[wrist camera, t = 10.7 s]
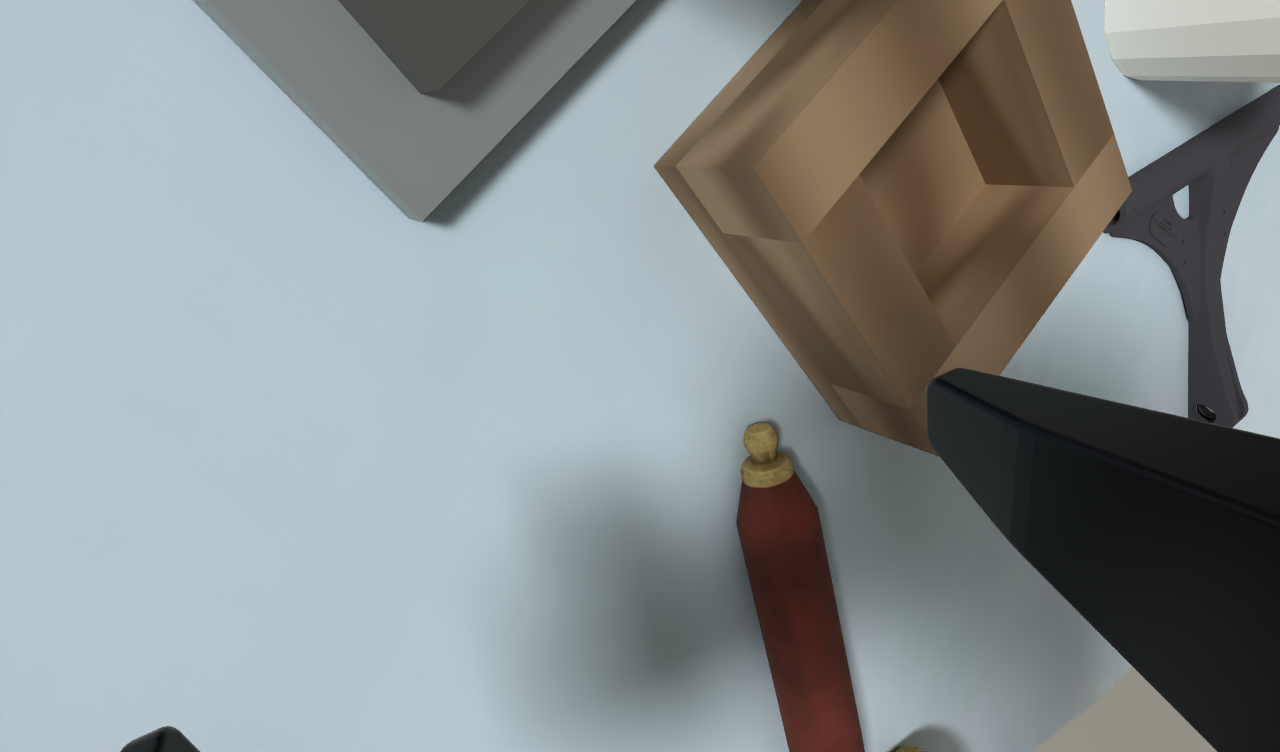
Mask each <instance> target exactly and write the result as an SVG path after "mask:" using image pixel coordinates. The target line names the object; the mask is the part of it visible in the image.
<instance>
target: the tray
mask: <svg viewBox="0 0 1280 752" xmlns="http://www.w3.org/2000/svg"><path fill="white" fill-rule="evenodd" d="M193 1H194V2H195V3H196V4H197V5H198V6H199V7H200V8H201V9H202V10H203V11H204V12H205V13H206V14H207V15H208V16H209V17H210V18H211V19H212V20H213V21H214V22H215V23H216V24H217V25H218V26H219V27H220V28H221V29H222V30H223V31H224V32H225V33H226V34H227V35H228V36H229V37H230V38H231V39H232V40H233V41H234V42H235V43H236V44H237V45H238V46H239V47H240V48H241V49H242V50H243V51H244V52H245V53H246V54H247V55H248V56H249V57H250V58H251V59H252V61H253V62H254V63H255V64H256V65H257V66H258V67H259V68H260V69H261V70H262V71H263V72H264V73H265V74H266V75H267V76H268V77H269V78H270V79H271V80H272V81H273V82H274V83H275V84H276V85H277V86H278V87H279V88H280V89H281V90H282V91H283V92H284V93H285V94H286V95H287V96H288V97H289V98H290V99H291V100H292V101H293V102H294V103H295V104H296V105H297V106H298V107H299V108H300V109H301V110H302V111H303V112H304V113H305V114H306V115H307V116H308V117H309V118H310V119H311V120H312V121H313V122H314V123H315V124H316V125H317V126H318V127H319V128H320V129H321V130H322V131H323V132H324V133H325V134H326V135H327V136H328V137H329V138H330V139H331V140H332V141H333V142H334V143H335V144H336V145H337V146H338V147H339V148H340V149H341V150H342V151H343V152H344V153H345V155H346V156H347V157H348V158H349V159H350V160H351V161H352V162H353V163H354V164H355V165H356V166H357V167H358V168H359V169H360V170H361V171H362V172H363V173H364V174H365V175H366V176H367V177H368V178H369V179H370V180H371V181H372V182H373V183H374V184H375V185H376V186H377V187H378V188H379V189H380V190H381V191H382V192H383V193H384V194H385V195H386V196H387V197H388V198H389V199H390V200H391V201H392V202H393V203H394V204H395V205H396V206H397V207H398V208H399V209H400V210H401V211H402V212H403V213H404V214H405V215H406V216H407V217H408V218H410V219H414V220H419V221H423V220H424V219H425V218H426V217H427V216H428V215H429V214H430V213H431V212H432V211H433V210H434V209H435V208H436V207H437V206H438V205H439V204H440V203H441V202H442V201H443V200H444V199H445V198H446V197H447V195H448V194H449V193H450V192H451V191H452V190H453V189H454V188H455V187H456V186H457V185H458V184H459V183H460V182H461V181H462V180H463V179H464V178H465V177H466V176H467V175H468V174H469V173H470V172H471V171H472V170H473V169H474V168H475V166H476V165H477V164H478V163H479V162H480V161H481V160H482V159H483V158H484V157H485V156H486V155H487V154H488V153H489V152H490V151H491V150H492V149H493V148H494V147H495V146H496V145H497V144H498V143H499V142H500V141H501V140H502V139H503V138H504V136H505V135H506V134H507V133H508V132H509V131H510V130H511V129H512V128H513V127H514V126H515V125H516V124H517V123H518V122H519V121H520V120H521V119H522V118H523V117H524V116H525V115H526V114H527V113H528V112H529V111H530V110H531V109H532V107H533V106H534V105H535V104H536V103H537V102H538V101H539V100H540V99H541V98H542V97H543V96H544V95H545V94H546V93H547V92H548V91H549V90H550V89H551V88H552V87H553V86H554V85H555V84H556V83H557V82H558V81H559V80H560V78H561V77H562V76H563V75H564V74H565V73H566V72H567V71H568V70H569V69H570V68H571V67H572V66H573V65H574V64H575V63H576V62H577V61H578V60H579V59H580V58H581V57H582V56H583V55H584V54H585V53H586V52H587V51H588V49H589V48H590V47H591V46H592V45H593V44H594V43H595V42H596V41H597V40H598V39H599V38H600V37H601V36H602V35H603V34H604V33H605V32H606V31H607V30H608V29H609V28H610V27H611V26H612V25H613V24H614V23H615V22H616V21H617V19H618V18H619V17H620V16H621V15H622V14H623V13H624V12H625V11H626V10H627V9H628V8H629V7H630V6H631V5H632V4H633V3H634V2H635V1H636V0H193Z"/></svg>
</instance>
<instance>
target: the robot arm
mask: <svg viewBox="0 0 1280 752" xmlns="http://www.w3.org/2000/svg"><path fill="white" fill-rule="evenodd" d="M926 414H927V434H928V438H929V441H930V443H931V445H932V447H933V448H934V450H935V451H936V452H937V454H938V455H939V456H940V457H941V459H942V460H943V461H944V462H945V463H946V465H947V466H948V467H949V468H950V470H951V471H952V472H953V473H954V475H955V476H956V477H957V478H958V480H959V481H960V482H961V483H962V485H963V486H964V487H965V488H966V490H967V491H968V492H969V493H970V495H971V496H972V497H973V498H974V500H975V501H976V502H977V503H978V504H979V506H980V507H981V508H982V509H983V511H984V512H985V513H986V514H987V516H988V517H989V518H990V519H991V521H992V522H993V523H994V524H995V526H996V527H997V528H998V529H999V530H1000V532H1001V533H1002V534H1003V535H1004V536H1005V537H1006V539H1007V540H1008V541H1009V542H1010V543H1011V544H1012V545H1013V546H1014V547H1015V548H1016V549H1017V550H1018V551H1019V553H1020V554H1021V555H1022V556H1023V557H1024V558H1025V559H1026V560H1027V561H1028V562H1029V563H1030V564H1031V565H1032V566H1033V567H1034V568H1035V569H1036V570H1037V571H1038V572H1039V573H1040V574H1041V575H1042V576H1043V577H1044V578H1045V579H1046V580H1047V581H1048V582H1049V583H1050V584H1051V585H1052V586H1053V587H1054V588H1055V589H1056V590H1057V591H1058V592H1059V593H1060V594H1061V595H1062V596H1063V597H1064V598H1065V599H1066V600H1067V601H1068V602H1069V603H1070V604H1071V605H1072V606H1073V607H1074V608H1075V609H1076V610H1077V611H1078V612H1079V613H1080V614H1081V615H1082V616H1083V617H1084V618H1085V619H1086V620H1087V621H1088V622H1089V623H1090V624H1091V625H1092V626H1093V627H1094V628H1095V629H1096V630H1097V631H1098V632H1099V633H1100V634H1101V635H1102V636H1103V637H1104V638H1105V639H1106V640H1107V641H1108V642H1109V643H1110V644H1111V645H1112V646H1113V647H1114V648H1115V649H1116V650H1117V651H1118V652H1119V653H1120V654H1121V655H1122V656H1123V657H1124V658H1125V659H1126V660H1127V661H1128V662H1129V663H1130V664H1131V665H1132V666H1133V667H1134V668H1135V669H1136V670H1137V671H1138V672H1139V673H1140V674H1141V675H1142V676H1143V677H1144V678H1145V679H1146V680H1147V681H1148V682H1149V683H1150V684H1151V685H1152V686H1153V687H1154V688H1155V689H1156V690H1157V691H1158V692H1159V693H1160V694H1161V695H1162V696H1163V697H1164V698H1165V699H1166V700H1167V701H1168V702H1169V703H1170V704H1171V705H1172V706H1173V707H1174V708H1175V709H1176V710H1177V711H1178V712H1179V713H1180V714H1181V715H1182V716H1183V717H1184V718H1185V719H1186V720H1187V721H1188V722H1189V723H1190V724H1191V726H1192V727H1193V728H1195V730H1196V731H1198V733H1199V734H1200V735H1201V736H1202V737H1204V738H1205V739H1206V740H1207V742H1208V743H1209V744H1210V745H1211V746H1212V747H1213V748H1214V749H1215V750H1216V751H1217V752H1280V439H1279V438H1274V437H1270V436H1265V435H1261V434H1256V433H1252V432H1247V431H1243V430H1238V429H1234V428H1230V427H1225V426H1221V425H1216V424H1212V423H1207V422H1203V421H1198V420H1194V419H1189V418H1185V417H1180V416H1176V415H1171V414H1167V413H1162V412H1158V411H1154V410H1149V409H1145V408H1140V407H1136V406H1131V405H1127V404H1122V403H1118V402H1113V401H1109V400H1104V399H1100V398H1095V397H1091V396H1086V395H1082V394H1077V393H1073V392H1069V391H1064V390H1060V389H1055V388H1051V387H1046V386H1042V385H1037V384H1033V383H1028V382H1024V381H1019V380H1015V379H1010V378H1006V377H1001V376H997V375H993V374H988V373H984V372H979V371H975V370H970V369H965V368H956V369H952V370H950V371H948V372H946V373H944V374H941V375H939V376H937V377H935V378H933V379H931V380H930V381H929V383H928V385H927V388H926ZM121 752H200V751H199V750H198V749H197V748H196V747H195V746H194V745H193V744H192V743H191V742H190V741H189V740H188V739H187V738H186V737H185V736H184V735H183V734H182V733H181V732H180V731H179V730H177V729H176V728H174V727H171V726H166V727H162V728H159V729H157V730H155V731H153V732H150V733H148V734H146V735H144V736H142V737H139V738H137V739H135V740H133V741H131V742H130V743H128V744H127V745H126V746H125V747H124V748H123V749H122V750H121Z"/></svg>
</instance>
